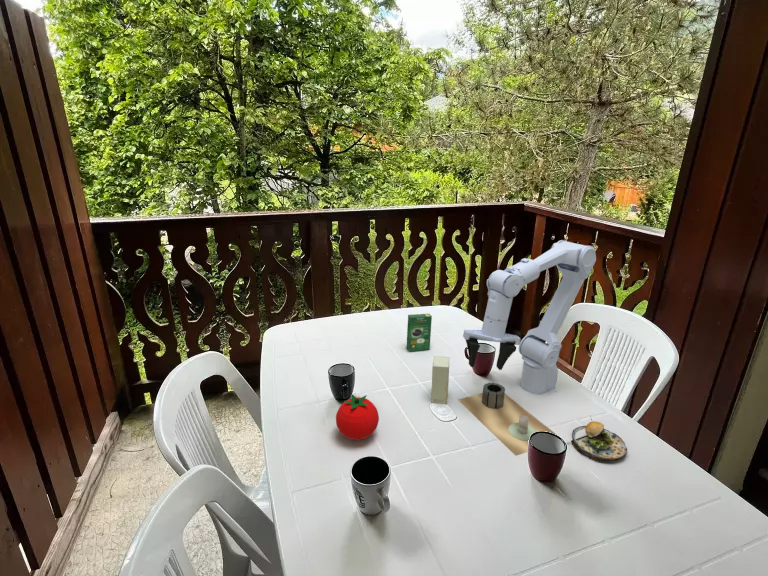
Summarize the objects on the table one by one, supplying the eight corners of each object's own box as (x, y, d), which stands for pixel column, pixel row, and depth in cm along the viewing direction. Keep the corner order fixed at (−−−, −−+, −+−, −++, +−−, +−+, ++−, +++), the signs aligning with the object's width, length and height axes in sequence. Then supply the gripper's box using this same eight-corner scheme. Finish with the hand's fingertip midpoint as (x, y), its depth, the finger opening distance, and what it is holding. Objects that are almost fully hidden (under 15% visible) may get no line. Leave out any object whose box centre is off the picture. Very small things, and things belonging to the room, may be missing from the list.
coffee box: (428, 346, 147) (429, 312, 143) (430, 350, 144) (432, 315, 140) (406, 348, 146) (407, 314, 141) (408, 352, 143) (409, 317, 139)
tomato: (384, 426, 104) (384, 391, 101) (369, 453, 95) (369, 416, 92) (346, 417, 108) (345, 384, 105) (329, 443, 98) (327, 407, 95)
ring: (494, 395, 116) (496, 381, 115) (507, 405, 111) (509, 391, 110) (478, 399, 114) (479, 385, 113) (490, 410, 109) (492, 395, 108)
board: (498, 391, 119) (500, 376, 118) (562, 443, 98) (565, 425, 97) (457, 402, 114) (458, 386, 113) (515, 459, 93) (517, 440, 92)
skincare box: (446, 407, 112) (449, 367, 108) (430, 405, 113) (432, 366, 109) (448, 395, 118) (450, 356, 114) (432, 393, 119) (434, 355, 115)
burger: (603, 471, 90) (609, 443, 88) (559, 440, 100) (563, 413, 98) (637, 454, 95) (644, 427, 93) (592, 425, 105) (597, 400, 103)
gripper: (473, 319, 100) (462, 371, 103) (529, 326, 102) (517, 376, 105) (465, 310, 106) (455, 359, 110) (518, 317, 108) (506, 364, 111)
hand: (485, 366), depth 108 cm, fingers open, 7 cm apart
